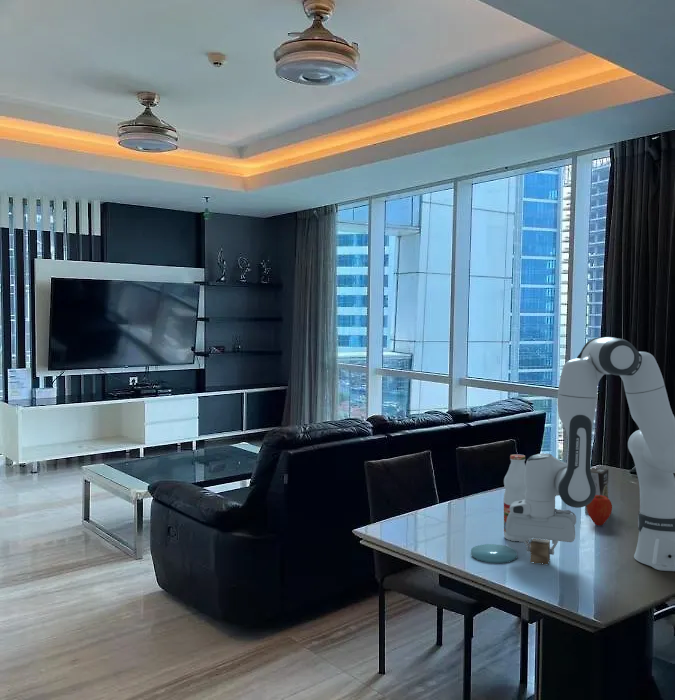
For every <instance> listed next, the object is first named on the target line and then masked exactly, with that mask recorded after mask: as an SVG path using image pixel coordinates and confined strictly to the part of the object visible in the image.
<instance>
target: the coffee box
mask: <svg viewBox="0 0 675 700" xmlns="http://www.w3.org/2000/svg"><path fill="white" fill-rule="evenodd" d="M591 475H592V478H593V481H594V484H595V487H596V494H595V495H602V496H606V497H607V498H608V499H609V469H608V468H601V467H600V468H597V467H596V468H595V467H591ZM584 514H586V515H589V514H588V512H587V506H584Z"/></svg>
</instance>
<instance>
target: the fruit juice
mask: <svg viewBox="0 0 675 700" xmlns="http://www.w3.org/2000/svg"><path fill="white" fill-rule="evenodd" d="M509 460H510V464H509V467H508V470H507V472H506V474H505V476H504V478H503V485H504V488H505V490H504V493H503V536H504V538H505V539H506V540H508V541H510V540H511V542H515V541H519V542H518V543H524V542H523V537H519V536H510V535H508V534H507V533H506V521H507V517H508V515H509V513H510V505H511V504H512V503H513V502H515V501H520V500H524V499H525V493H526V486H525V466H526V463H525V461H526V455H524V454H520V453H519V454H517V453H516V454H514V453H513V454H510V456H509ZM532 539H533V538H528V540H527V541H528V542H530V541H532ZM529 540H530V541H529Z"/></svg>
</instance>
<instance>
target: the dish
mask: <svg viewBox="0 0 675 700" xmlns="http://www.w3.org/2000/svg"><path fill="white" fill-rule="evenodd" d="M471 555H472V556H473V557H474V558H473V557H472V556H471ZM470 556H471V557H472V558H473V559H475V558H476V559H475V560H477V559H478V560H477V561H480V560H481V561H480V562H483V561H485V563H489V562H490V563H491V564H505V563H506V562H507V563H510V562H509V561H511V562H513V561H512V560H514V559H515V560H517V558H518V552H517V550H516V549H514V548H512V547H510V546H508V545H502V544H494V543H493V544H492V543H491V544H489V543H486V544H478V545H475V546H473V547H472V548H471V550H470ZM516 557H517V558H516ZM515 560H514V561H515Z"/></svg>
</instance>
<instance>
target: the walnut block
mask: <svg viewBox="0 0 675 700" xmlns="http://www.w3.org/2000/svg"><path fill="white" fill-rule="evenodd" d="M530 541H531V542H530V543H529V545H530V552H529V553H530V557H529V559H530V562H534V563H533V564H536V563H541V564H540V565H544V564H548V565H549V563H550V561H549V560H551V554H548V552H549V551H548V548H549V547H551V544H550V543H551V540H545V539H536V538H532V539H531V540H530ZM548 562H549V563H548ZM542 563H543V564H542Z"/></svg>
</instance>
